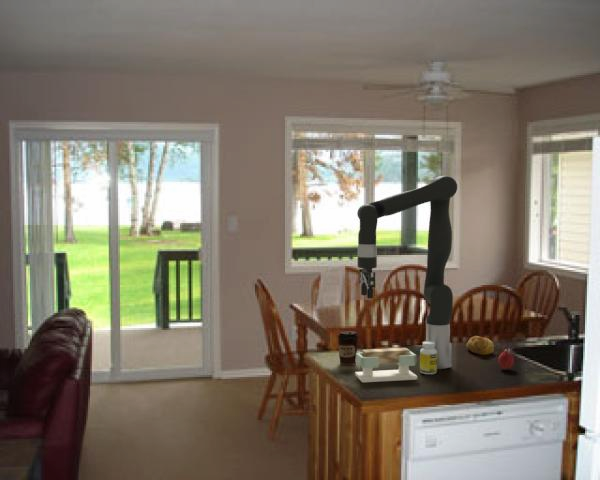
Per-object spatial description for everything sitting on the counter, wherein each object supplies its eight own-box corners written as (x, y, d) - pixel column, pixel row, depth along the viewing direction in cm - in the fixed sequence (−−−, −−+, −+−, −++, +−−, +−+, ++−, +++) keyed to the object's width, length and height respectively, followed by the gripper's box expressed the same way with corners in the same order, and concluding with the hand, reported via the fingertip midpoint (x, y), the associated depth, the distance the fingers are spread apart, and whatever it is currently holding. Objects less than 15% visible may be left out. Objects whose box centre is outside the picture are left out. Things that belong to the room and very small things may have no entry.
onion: (514, 368, 254) (514, 348, 253) (512, 372, 249) (513, 351, 248) (499, 367, 256) (499, 347, 256) (497, 370, 251) (497, 350, 250)
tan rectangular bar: (405, 359, 246) (405, 347, 245) (409, 362, 242) (409, 350, 241) (362, 361, 243) (362, 349, 242) (365, 364, 239) (365, 352, 238)
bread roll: (461, 350, 285) (461, 332, 284) (480, 348, 288) (480, 330, 288) (478, 357, 273) (478, 338, 272) (498, 355, 276) (498, 336, 276)
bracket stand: (407, 372, 249) (408, 349, 249) (417, 379, 240) (417, 355, 239) (354, 375, 246) (355, 352, 245) (362, 382, 236) (362, 358, 235)
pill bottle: (426, 375, 244) (427, 345, 244) (416, 371, 250) (416, 341, 249) (440, 373, 247) (440, 343, 247) (429, 369, 253) (430, 340, 252)
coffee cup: (357, 367, 256) (357, 334, 256) (336, 366, 258) (336, 334, 257) (359, 361, 265) (359, 330, 264) (339, 360, 267) (339, 329, 266)
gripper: (381, 257, 247) (381, 299, 248) (371, 253, 261) (370, 293, 262) (362, 257, 246) (362, 299, 247) (353, 254, 260) (352, 294, 261)
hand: (367, 296), depth 255 cm, fingers open, 8 cm apart
